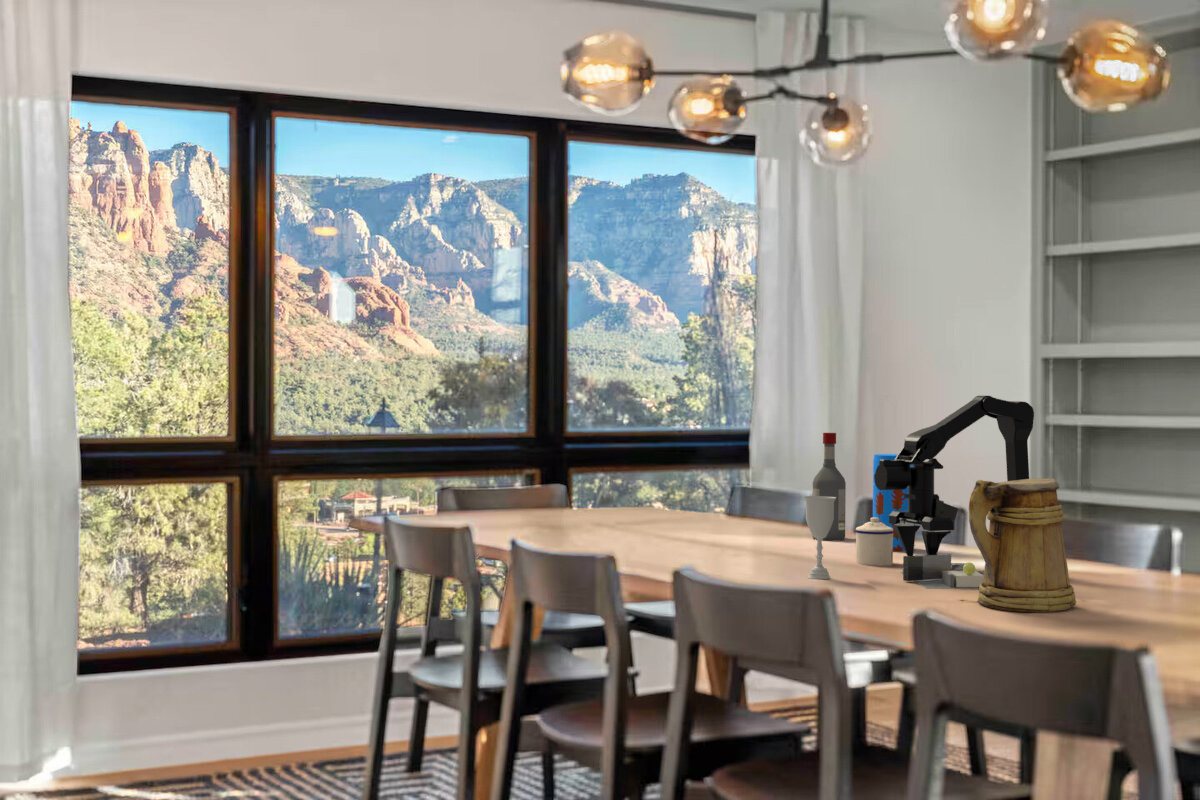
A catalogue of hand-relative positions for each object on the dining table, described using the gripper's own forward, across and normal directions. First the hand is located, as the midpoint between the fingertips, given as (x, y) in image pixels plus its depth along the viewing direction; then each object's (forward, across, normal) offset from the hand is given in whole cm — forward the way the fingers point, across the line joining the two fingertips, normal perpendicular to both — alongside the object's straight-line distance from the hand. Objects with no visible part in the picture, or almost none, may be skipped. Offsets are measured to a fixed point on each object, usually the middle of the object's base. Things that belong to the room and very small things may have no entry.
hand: (920, 559), depth 314 cm
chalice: (+4, +8, +21) cm, 23 cm away
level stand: (+4, -10, -5) cm, 12 cm away
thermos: (+5, +55, -24) cm, 60 cm away
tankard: (+5, -41, +3) cm, 41 cm away
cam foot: (+3, -16, -1) cm, 17 cm away
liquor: (+5, +82, -19) cm, 85 cm away
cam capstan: (+3, -10, 0) cm, 10 cm away
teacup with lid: (+5, +24, -1) cm, 25 cm away
